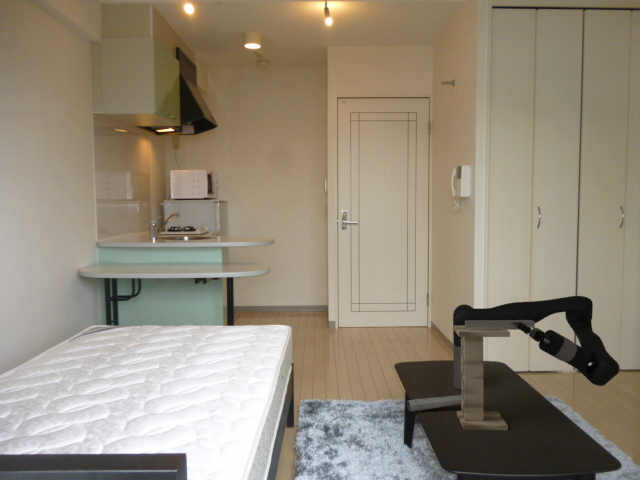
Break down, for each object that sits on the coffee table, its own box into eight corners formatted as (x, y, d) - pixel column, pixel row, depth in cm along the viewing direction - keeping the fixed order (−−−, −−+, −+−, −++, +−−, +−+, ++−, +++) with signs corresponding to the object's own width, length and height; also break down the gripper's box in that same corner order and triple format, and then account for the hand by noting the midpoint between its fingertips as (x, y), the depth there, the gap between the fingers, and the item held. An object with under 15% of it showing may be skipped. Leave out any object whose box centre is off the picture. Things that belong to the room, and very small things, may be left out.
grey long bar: (464, 327, 168) (464, 320, 168) (531, 327, 166) (531, 320, 166) (466, 329, 166) (466, 322, 165) (534, 329, 164) (534, 321, 164)
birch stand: (453, 414, 175) (453, 324, 173) (500, 415, 173) (500, 324, 172) (460, 429, 163) (460, 333, 161) (511, 430, 161) (510, 333, 160)
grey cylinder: (405, 398, 182) (473, 387, 182) (408, 415, 182) (475, 404, 182) (408, 403, 176) (477, 392, 176) (411, 421, 177) (480, 410, 177)
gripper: (555, 331, 172) (513, 308, 172) (572, 341, 157) (527, 316, 158) (544, 349, 172) (502, 326, 173) (560, 362, 158) (515, 336, 159)
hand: (514, 322), depth 165 cm, fingers open, 8 cm apart
